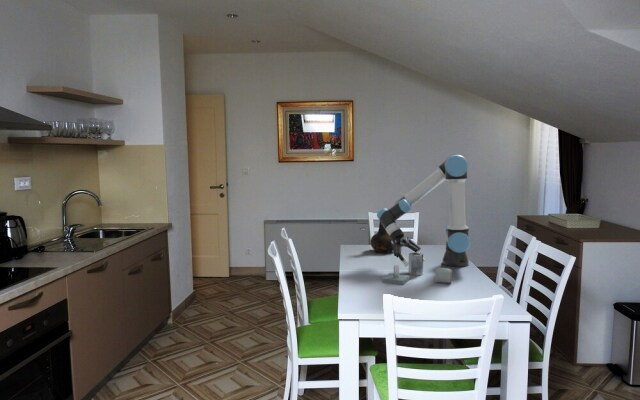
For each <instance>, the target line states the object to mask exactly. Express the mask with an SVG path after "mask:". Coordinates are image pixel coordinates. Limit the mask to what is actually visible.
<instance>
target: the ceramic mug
mask: <svg viewBox="0 0 640 400" xmlns="http://www.w3.org/2000/svg"><path fill="white" fill-rule="evenodd" d="M452 276H453V270H452V269H451V268H447V267H439V266H437V267H435V277H434V278H435V279H434V281H435V283H444V284H450V283H452V280H453V279H452V278H453V277H452Z"/></svg>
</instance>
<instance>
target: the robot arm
mask: <svg viewBox="0 0 640 400" xmlns="http://www.w3.org/2000/svg"><path fill="white" fill-rule="evenodd" d="M468 169H469V162H468V160H467V159H466V157H465V156H463V155H461V154H452V155H449V156H448V157H447V158H446V159H445V160H444V161H443V162H442V163H441V164H440V165H438V166H437V169H436V170H435V171H434V172H432V173H431V174H429V176H428V177H426V178H425V179H424V180H422V181H421V182H420V183H419V184H417V185H416V186H415V187H414V188H412V189H411V190H410V191H408V192H407V193H406V194H404V196H401V198H400V199H398V200H396V201H395V203H394V205H393V206H391V207H390V208H389V209H388V208H387V207H384V208H383V207H382V209H380V210H378V212H377V214H376V217H377V219H378V221H379V223H380V222H381V224H382V225H383V227H384V228H385V230H386V231H387V233H388V234H389V236H390V238H391V239H392V241H391V244H392V248H393V251H392V252H393V256H394V257H396V258H398V259H399V260H400V261H401V263H402V264H403V265H404V266H405V267H407V266H409V260H407V258H406V257H405V256H404V254H403V253H402V247H405V248H408V249H410V250H411V251H413V253H414V252H416V253H421V251H420V250H421V249H422V247H420V246H419V245H418V244H417V243H416V242H415V241H414V240H412V239H411V238H410V236H407V237H405V234H404V232H403V230H402V229H401V227H400V225H399V224H398V223H397V220H398V219H400V218H401V217H403V216H404V215H406V214H408V213H409V212H410V211H411V210H412V206H414V205H415V204H416V203H418V202H419V201H420V200H421V199H423V198H424V197H425V196H426V195H428V194H429V193H430V192H432V191H433V190H434V189H436V188H437V187H439V186H440V185H441V184H442V183H443V182H445V181H447V183H448V211H449V224H448V225H446V226H445V251H444V254H443V257H442V262H441V263H442V265H445V266H449V267H456V268H457V267H467V266H469V265H470V260H469V257H468V253H467V250H468V249H469V247H470V246H471V239H470V231H469V230H470V229H469V228H470V227H469V226H468V225H467V224H466V223H467V222H466V220H467V219H466V192H465V191H466V189H465V188H466V181H467V180H468ZM396 244H397V245H396ZM425 261H426V259H425V258H424V256H423V263H424V262H425Z"/></svg>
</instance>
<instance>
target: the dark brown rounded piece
mask: <svg viewBox="0 0 640 400" xmlns="http://www.w3.org/2000/svg"><path fill="white" fill-rule="evenodd" d="M378 225H379V226H378V231H377V233H375V234H373V235H372V236H371V238H370V242H369V243H370V246H371V248H372V249H373V250H374V251H375V252H378V253H385V254H389V253H391V252H393V248H392V244H391V241H392V239H391V238H390V236H389V234H388V233H387V231H386V230H385V228H384V227H383V225H382V224H381V222H380V221H379V224H378ZM396 245H397V244H396Z"/></svg>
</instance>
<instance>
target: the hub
mask: <svg viewBox="0 0 640 400" xmlns="http://www.w3.org/2000/svg"><path fill="white" fill-rule="evenodd" d="M423 257H424V253H416V252H414V251H413V252H409V253H408V263H409V264H408V275H409V276H422V275H424V262H423Z"/></svg>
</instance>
